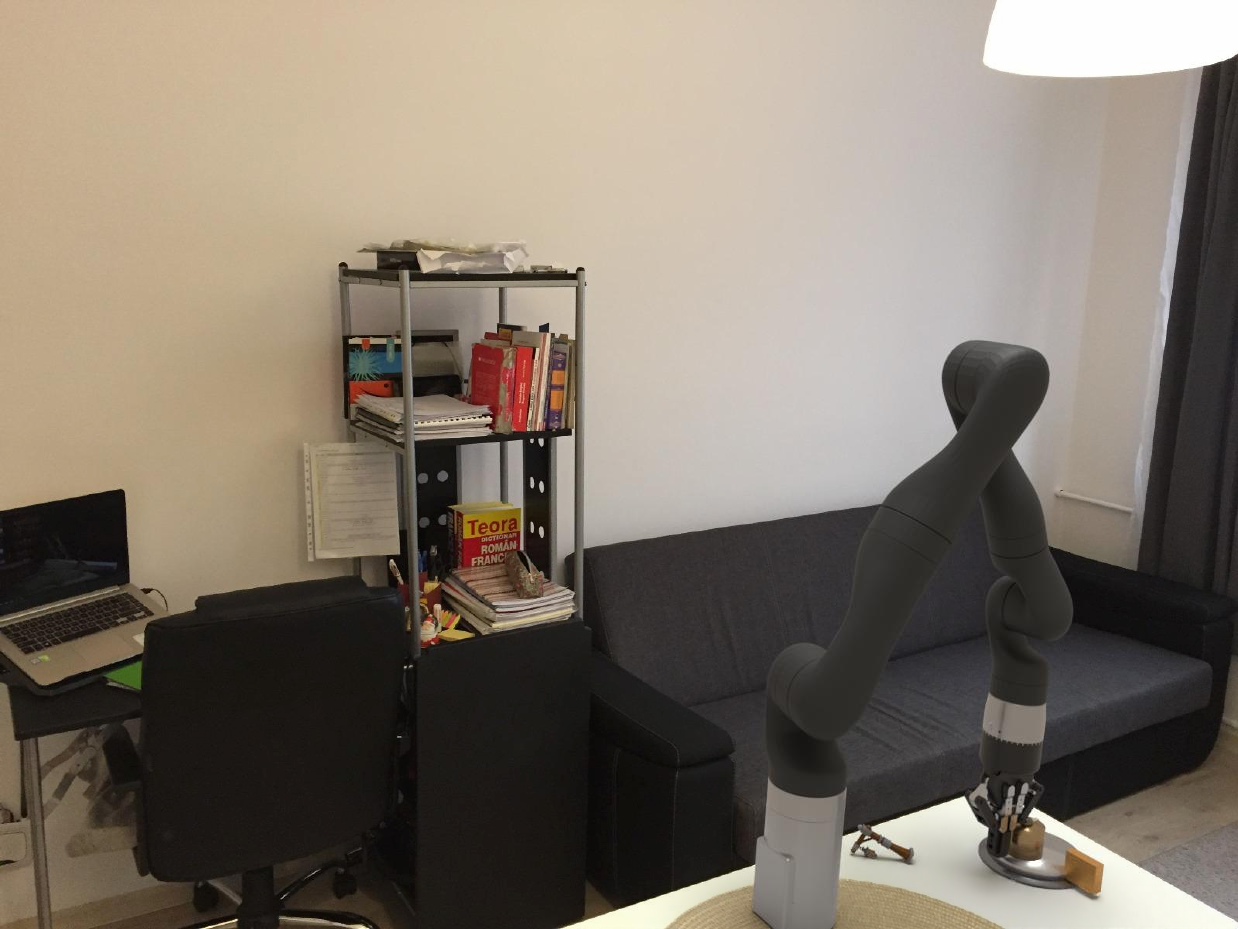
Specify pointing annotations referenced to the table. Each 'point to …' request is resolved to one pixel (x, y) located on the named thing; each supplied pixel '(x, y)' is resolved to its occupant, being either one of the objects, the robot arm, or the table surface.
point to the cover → (1027, 840)
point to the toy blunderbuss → (884, 842)
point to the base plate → (1019, 877)
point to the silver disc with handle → (1059, 865)
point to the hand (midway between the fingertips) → (997, 854)
